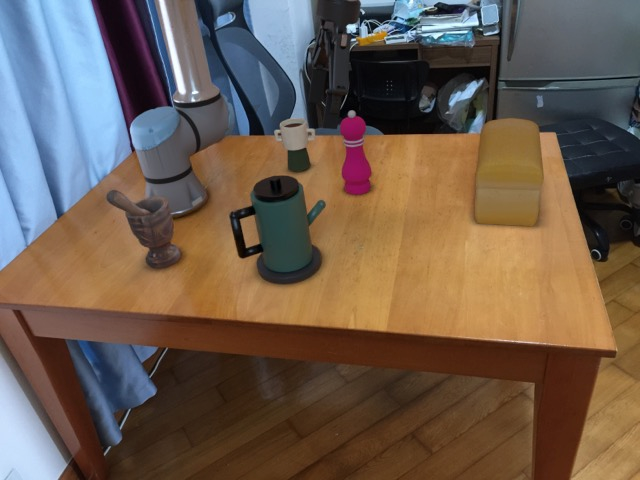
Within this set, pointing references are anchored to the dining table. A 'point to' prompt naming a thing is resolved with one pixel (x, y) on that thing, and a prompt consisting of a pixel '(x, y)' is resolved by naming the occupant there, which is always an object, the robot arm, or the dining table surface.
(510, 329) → the dining table surface
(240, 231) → the kettle
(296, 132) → the character mug
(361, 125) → the pepper mill
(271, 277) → the kettle base
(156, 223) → the mortar and pestle
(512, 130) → the bread
